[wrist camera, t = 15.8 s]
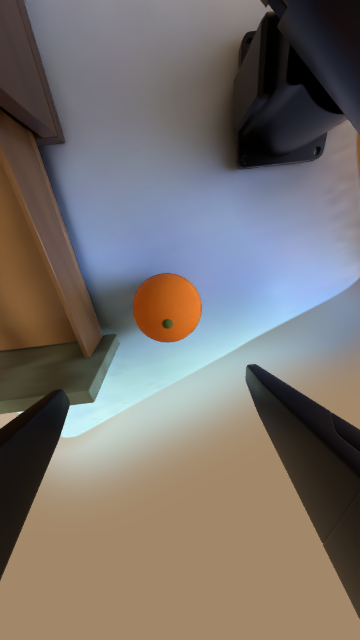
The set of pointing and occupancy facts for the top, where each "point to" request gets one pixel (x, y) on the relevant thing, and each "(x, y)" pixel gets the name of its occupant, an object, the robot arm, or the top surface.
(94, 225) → the top surface
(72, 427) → the top surface
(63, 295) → the drawer
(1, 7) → the cabinet
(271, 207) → the top surface
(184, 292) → the orange
